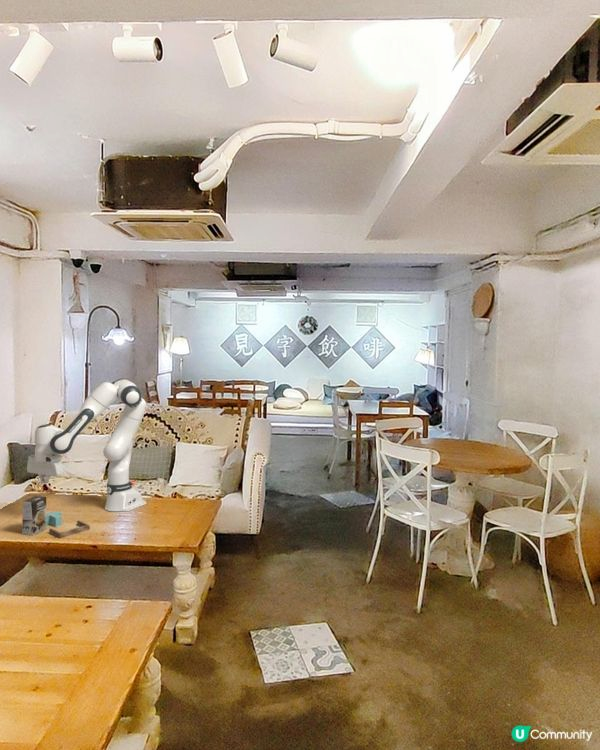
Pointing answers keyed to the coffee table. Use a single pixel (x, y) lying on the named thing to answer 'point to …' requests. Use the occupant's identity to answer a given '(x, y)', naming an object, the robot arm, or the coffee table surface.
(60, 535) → the dark u-shaped bracket
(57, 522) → the t block
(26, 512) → the coffee box
